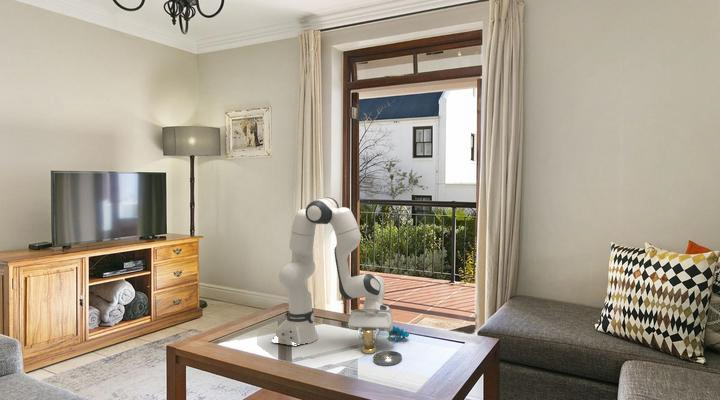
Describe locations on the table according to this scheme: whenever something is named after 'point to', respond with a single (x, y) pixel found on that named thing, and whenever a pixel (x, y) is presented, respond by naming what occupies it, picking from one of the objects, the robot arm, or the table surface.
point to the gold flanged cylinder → (368, 342)
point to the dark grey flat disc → (387, 358)
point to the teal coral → (397, 333)
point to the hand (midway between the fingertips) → (368, 338)
